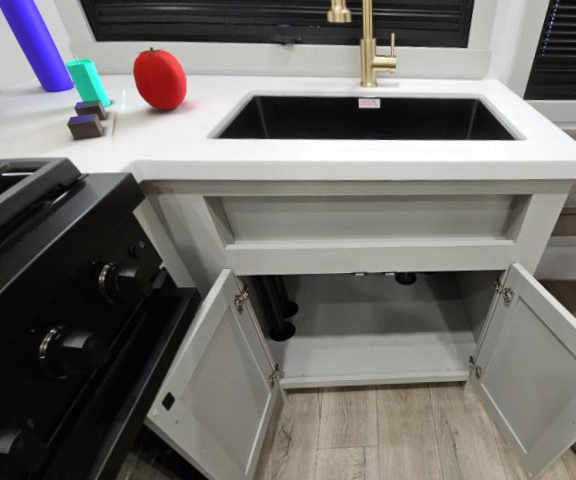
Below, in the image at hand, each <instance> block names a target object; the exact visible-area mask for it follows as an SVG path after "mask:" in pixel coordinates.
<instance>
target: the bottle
mask: <svg viewBox="0 0 576 480" xmlns="http://www.w3.org/2000/svg"><path fill="white" fill-rule="evenodd" d="M0 10H1V13H2V14H3V15H2V16H3V17H4V19H5V21H6V22H7V24H8V26H9V28H10V30H11V32H12V34H13V35H14V38H15V40H16V42H17V43H18V45H19V47H20V49H21V51H22V52H23V54H24V56H25V59H26V60H27V62H28V64H29V65H30V67H31V69H32V71H33V73H34V74H35V77H36V78H37V80H38V82H39V83H40V85H41V87H42V88H43V90H44V91H45V92H47V93H48V92H49V93H57V92H65V91H69V90H71V89H73V88H74V82H73V80H72V78H71V76H70V73H69V71H68V69H67V67H66V65H65V64H66V63H64V60H63V58H62V56H61V54H60V51H59V49H58V47H57V45H56V43H55V41H54V39H53V37H52V34H51V32H50V31H49V30H50V29H49V28H48V27H47V25H46V22H45V20H44V18H43V16H42V14H41V12H40V10H39V8H38V6H37V3H36V2H35V0H0Z"/></svg>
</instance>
